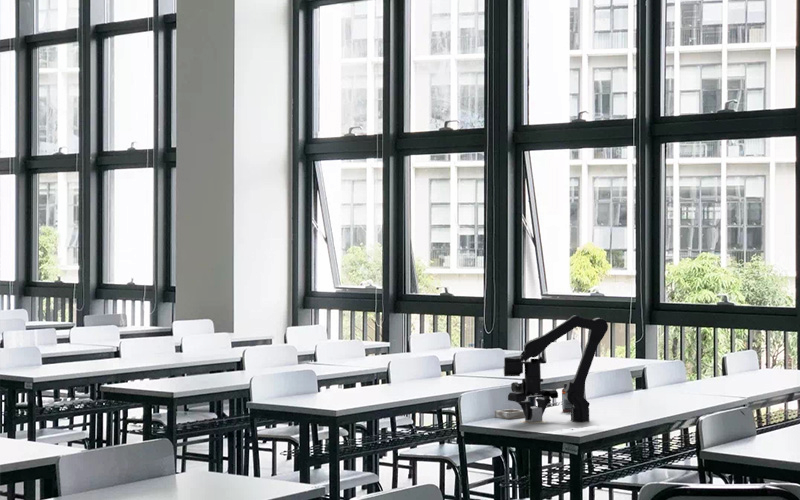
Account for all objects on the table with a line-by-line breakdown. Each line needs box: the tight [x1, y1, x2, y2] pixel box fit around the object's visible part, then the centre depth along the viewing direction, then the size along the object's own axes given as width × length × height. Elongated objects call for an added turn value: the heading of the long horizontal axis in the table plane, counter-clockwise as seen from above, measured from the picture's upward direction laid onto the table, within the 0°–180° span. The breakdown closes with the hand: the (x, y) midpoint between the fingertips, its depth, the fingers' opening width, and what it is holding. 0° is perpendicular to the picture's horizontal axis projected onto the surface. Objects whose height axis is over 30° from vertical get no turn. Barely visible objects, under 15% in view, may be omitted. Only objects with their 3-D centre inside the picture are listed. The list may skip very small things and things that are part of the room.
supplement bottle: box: [561, 382, 573, 413], centre depth 416 cm, size 6×6×11 cm
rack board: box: [492, 408, 525, 420], centre depth 393 cm, size 18×12×4 cm, turn 30°
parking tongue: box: [520, 420, 547, 425], centre depth 381 cm, size 7×7×2 cm
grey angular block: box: [524, 405, 543, 424], centre depth 381 cm, size 4×4×5 cm
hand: (533, 419), depth 381 cm, fingers open, 5 cm apart
